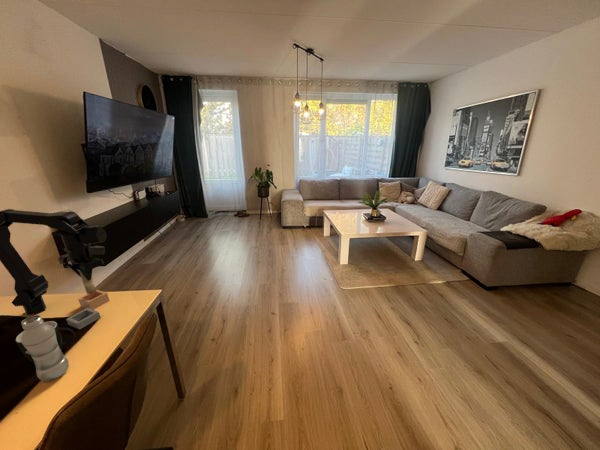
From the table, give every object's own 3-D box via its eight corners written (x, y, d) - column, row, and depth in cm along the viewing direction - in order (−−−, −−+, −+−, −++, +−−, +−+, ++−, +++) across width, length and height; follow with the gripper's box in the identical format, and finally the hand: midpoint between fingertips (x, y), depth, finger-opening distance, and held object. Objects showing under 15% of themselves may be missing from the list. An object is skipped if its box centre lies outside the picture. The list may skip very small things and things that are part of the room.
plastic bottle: (53, 366, 74) (29, 312, 68) (77, 364, 74) (54, 310, 68) (33, 386, 68) (4, 329, 61) (59, 383, 68) (32, 327, 62)
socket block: (69, 326, 90) (66, 319, 89) (90, 315, 96) (87, 307, 95) (80, 331, 88) (77, 323, 86) (101, 319, 94) (98, 311, 93)
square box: (81, 308, 100) (77, 298, 98) (100, 299, 106) (97, 289, 105) (91, 312, 98) (88, 302, 96) (110, 302, 104) (107, 292, 102)
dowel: (85, 293, 99) (77, 271, 96) (93, 289, 102) (86, 268, 98) (89, 294, 98) (82, 273, 95) (97, 290, 100) (90, 269, 97)
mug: (24, 374, 72) (10, 347, 68) (32, 353, 79) (20, 329, 75) (77, 354, 78) (66, 329, 75) (80, 337, 85) (71, 313, 82)
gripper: (112, 240, 96) (122, 274, 101) (84, 234, 103) (95, 266, 108) (79, 251, 87) (92, 288, 92) (51, 244, 94) (65, 279, 98)
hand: (87, 279), depth 98 cm, fingers closed on dowel, 3 cm apart
